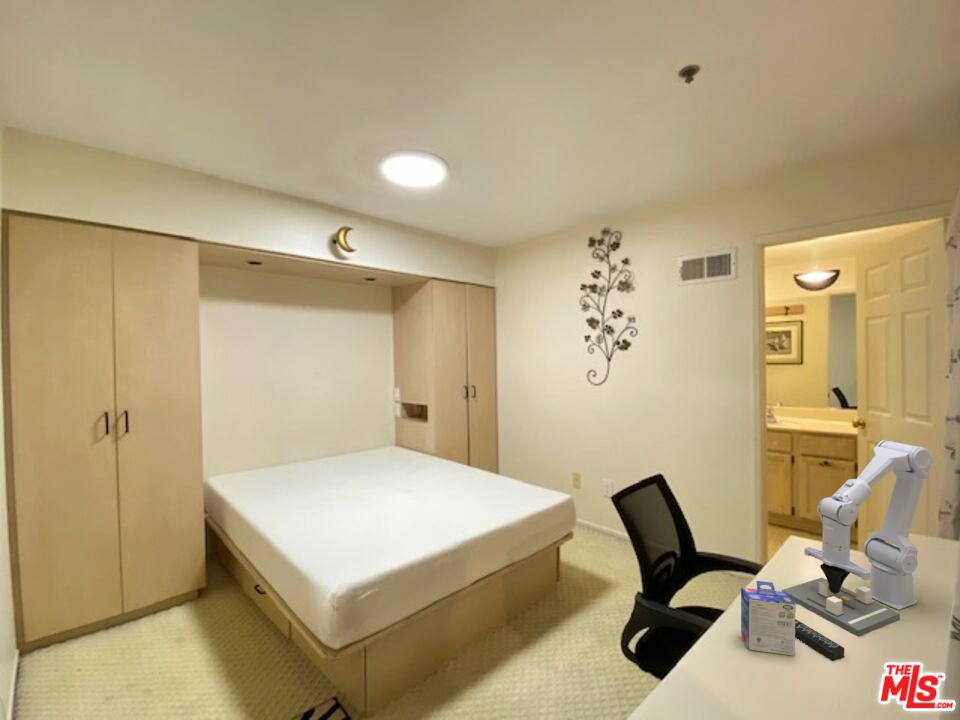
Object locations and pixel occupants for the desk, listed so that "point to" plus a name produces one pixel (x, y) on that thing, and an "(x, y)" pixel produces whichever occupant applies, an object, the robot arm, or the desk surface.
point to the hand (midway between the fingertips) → (834, 592)
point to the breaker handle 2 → (864, 595)
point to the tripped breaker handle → (825, 589)
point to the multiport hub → (818, 642)
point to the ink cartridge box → (768, 620)
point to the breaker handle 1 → (834, 605)
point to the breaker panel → (843, 608)
